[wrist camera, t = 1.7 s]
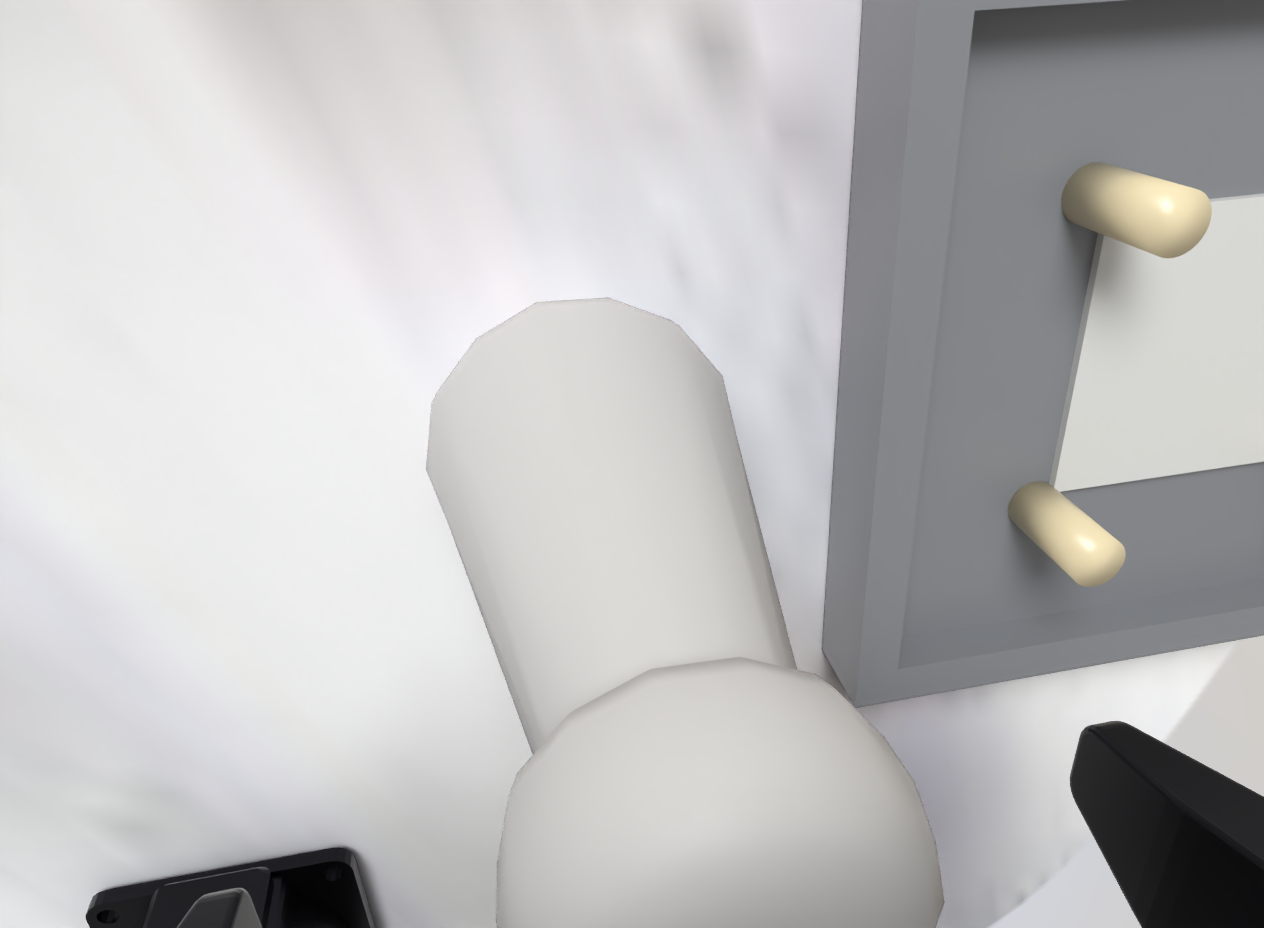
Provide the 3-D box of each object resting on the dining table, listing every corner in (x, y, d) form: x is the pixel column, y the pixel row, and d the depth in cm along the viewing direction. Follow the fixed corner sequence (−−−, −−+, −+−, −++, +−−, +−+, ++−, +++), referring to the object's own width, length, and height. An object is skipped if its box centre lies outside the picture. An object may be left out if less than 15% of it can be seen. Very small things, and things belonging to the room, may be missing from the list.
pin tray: (1356, 559, 26) (1484, 641, 23) (822, 649, 24) (881, 754, 21) (1619, -97, 18) (1868, -112, 15) (866, -53, 16) (971, -61, 13)
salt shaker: (366, 396, 18) (250, 1064, 7) (577, 201, 17) (835, 620, 6) (561, 561, 21) (699, 1235, 10) (753, 401, 20) (1157, 948, 9)
